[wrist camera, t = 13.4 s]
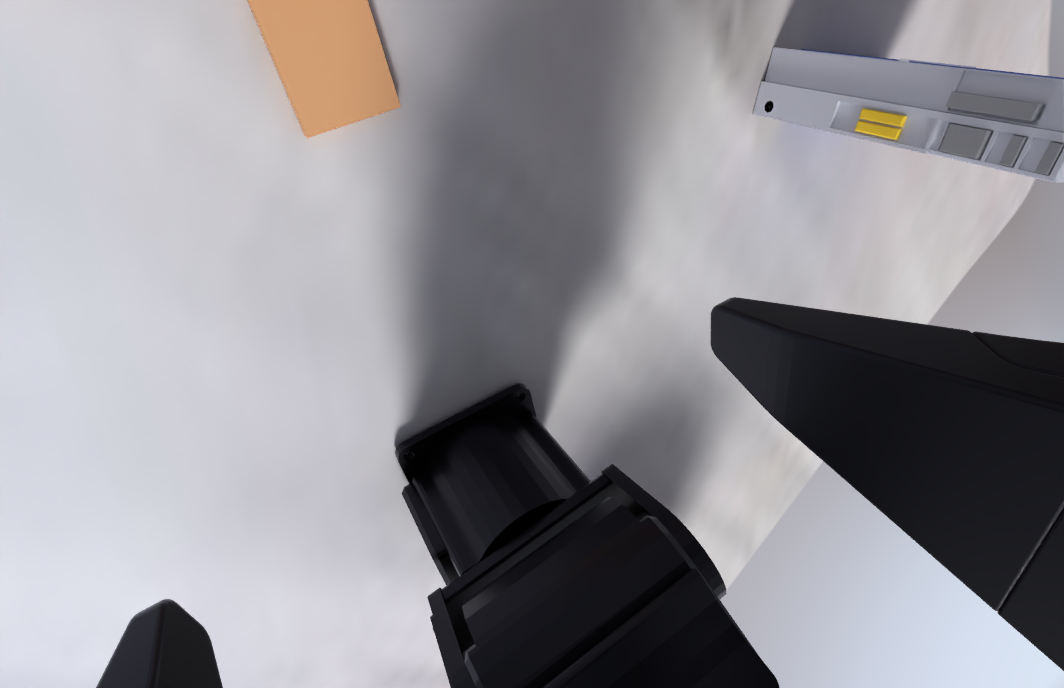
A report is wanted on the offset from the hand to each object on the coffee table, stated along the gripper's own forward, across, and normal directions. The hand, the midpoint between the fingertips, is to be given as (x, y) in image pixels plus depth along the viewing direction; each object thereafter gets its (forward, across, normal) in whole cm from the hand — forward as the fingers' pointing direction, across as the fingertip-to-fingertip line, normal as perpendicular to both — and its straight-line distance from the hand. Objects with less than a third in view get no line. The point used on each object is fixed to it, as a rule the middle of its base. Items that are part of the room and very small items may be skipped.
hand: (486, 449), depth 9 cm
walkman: (+13, -23, +3) cm, 27 cm away
